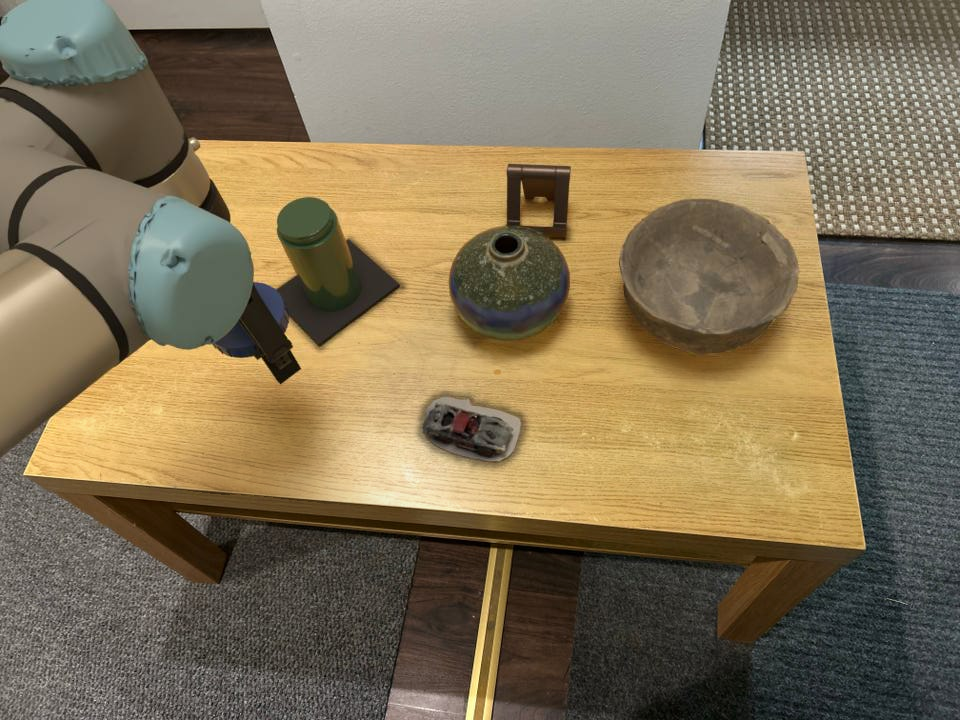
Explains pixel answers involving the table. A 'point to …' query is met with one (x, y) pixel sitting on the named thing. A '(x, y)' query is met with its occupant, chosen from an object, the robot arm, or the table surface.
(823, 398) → the table surface
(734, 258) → the bowl
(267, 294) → the lid
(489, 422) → the toy car
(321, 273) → the jar
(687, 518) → the table surface
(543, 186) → the tablet stand
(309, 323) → the mat
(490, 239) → the vase
